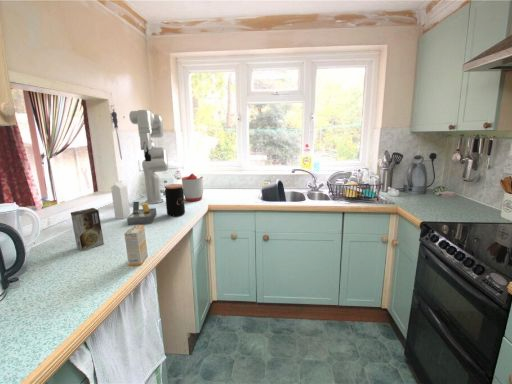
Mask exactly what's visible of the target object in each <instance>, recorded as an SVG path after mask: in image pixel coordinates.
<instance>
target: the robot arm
mask: <svg viewBox="0 0 512 384" xmlns="http://www.w3.org/2000/svg"><path fill="white" fill-rule="evenodd" d="M129 121H130V122H131V124H132V125H137V130H138V136H139V141H140V150H141V151H143V157H144V160H143V161H142V163H141V166H142V170H143V174H144V181H145V190H146V200H145V202H144V203H148V205H150V204H151V205H153V204H161V203H162V202H164V198H162V197H161V196H162V194H161V184H160V177H159V176H158V174H156V173H161V172H163V173H164V172H166V171H168V169H169V159H168V153H167V149H166V148H165V147H160V146H159V147H157V145H156V142H154V141H153V140H152V139H153V138H154V139H155V138H157V139H158V138H159V139H160V138H162V137H163V136H164V127H163V126H164V125H163V124H164V123H163V119H162V117H161V115H160V114H154V113H153V112H152V111H150V110H148V109H138V110H131V111H130V112H129Z"/></svg>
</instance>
